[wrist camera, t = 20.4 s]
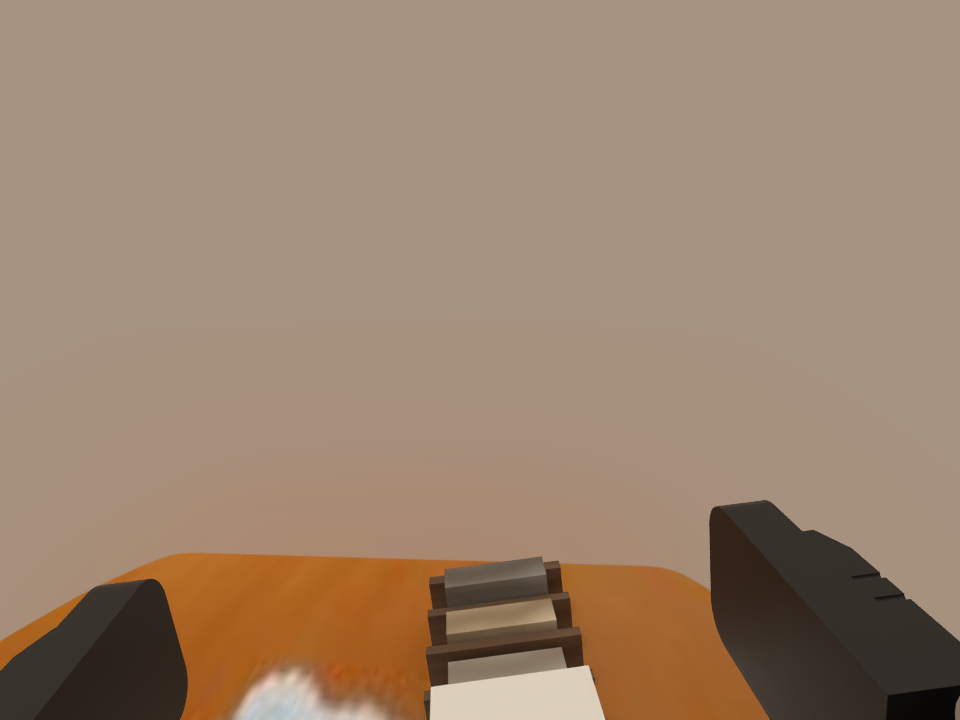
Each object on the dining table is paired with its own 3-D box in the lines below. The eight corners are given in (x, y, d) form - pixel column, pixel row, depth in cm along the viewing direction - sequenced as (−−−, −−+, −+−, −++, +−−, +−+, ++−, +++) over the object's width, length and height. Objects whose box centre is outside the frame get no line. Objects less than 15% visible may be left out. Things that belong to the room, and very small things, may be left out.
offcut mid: (561, 671, 46) (556, 619, 45) (454, 686, 46) (446, 634, 44) (555, 648, 48) (550, 598, 47) (453, 661, 48) (446, 612, 47)
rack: (623, 825, 35) (618, 756, 34) (432, 852, 35) (420, 783, 34) (563, 611, 54) (558, 560, 53) (437, 627, 54) (429, 577, 52)
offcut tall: (552, 634, 50) (546, 574, 48) (453, 647, 50) (444, 587, 48) (547, 613, 52) (541, 556, 51) (453, 626, 52) (444, 569, 51)
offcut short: (572, 716, 42) (568, 673, 41) (454, 732, 42) (448, 689, 41) (565, 687, 44) (561, 647, 43) (454, 703, 44) (448, 662, 43)
